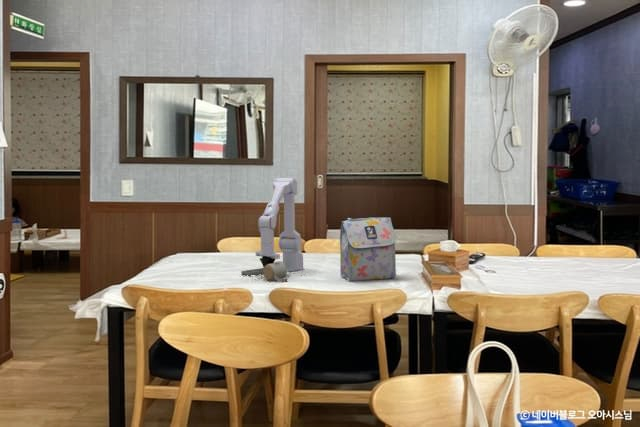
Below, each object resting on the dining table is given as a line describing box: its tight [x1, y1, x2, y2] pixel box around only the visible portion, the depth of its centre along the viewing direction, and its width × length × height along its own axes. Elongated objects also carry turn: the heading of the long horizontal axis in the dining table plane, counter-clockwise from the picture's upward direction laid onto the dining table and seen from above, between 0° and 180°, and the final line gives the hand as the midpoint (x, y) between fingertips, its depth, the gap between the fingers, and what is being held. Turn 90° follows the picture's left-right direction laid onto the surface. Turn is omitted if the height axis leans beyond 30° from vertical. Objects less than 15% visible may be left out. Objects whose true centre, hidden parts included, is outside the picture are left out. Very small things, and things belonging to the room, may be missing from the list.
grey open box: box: [240, 267, 264, 277], centre depth 323 cm, size 17×6×2 cm, turn 133°
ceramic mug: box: [262, 261, 288, 283], centre depth 304 cm, size 11×8×8 cm
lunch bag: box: [339, 217, 397, 282], centre depth 307 cm, size 22×17×26 cm
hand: (267, 273), depth 310 cm, fingers closed
